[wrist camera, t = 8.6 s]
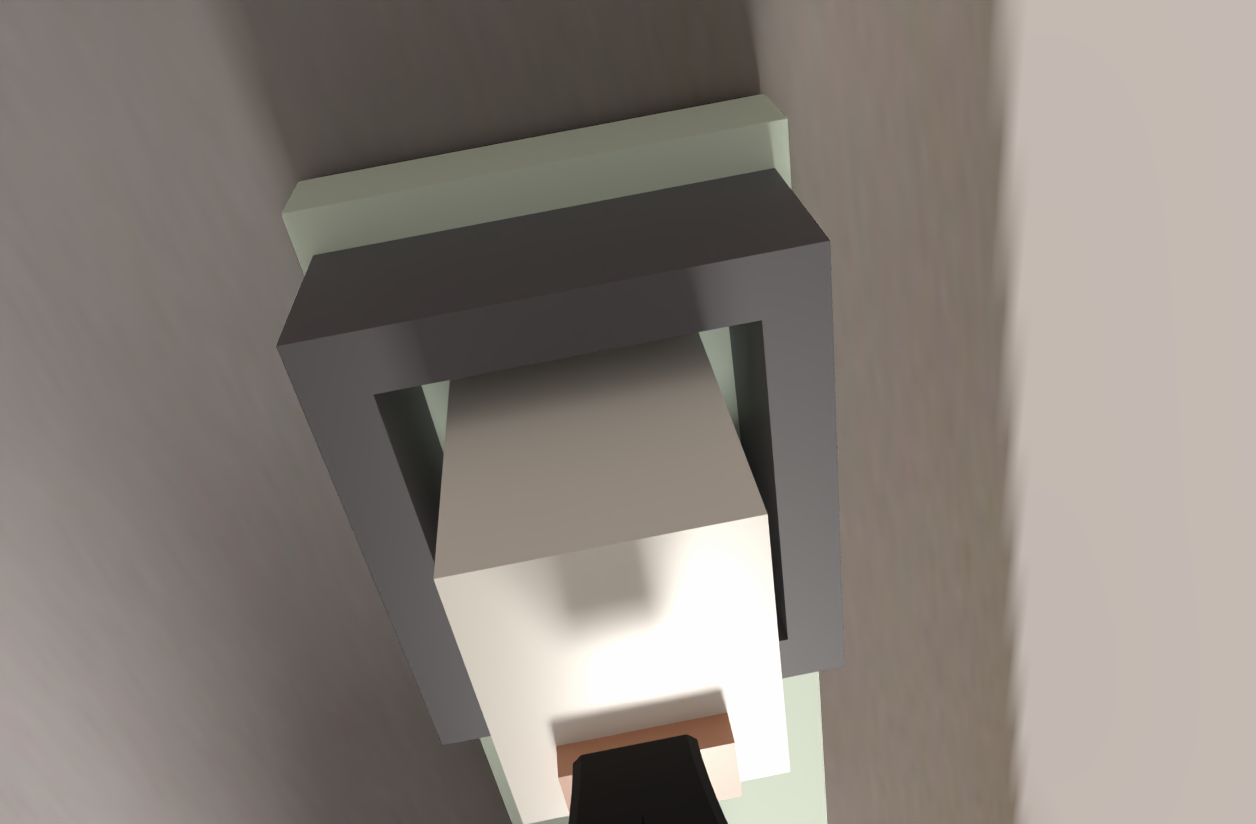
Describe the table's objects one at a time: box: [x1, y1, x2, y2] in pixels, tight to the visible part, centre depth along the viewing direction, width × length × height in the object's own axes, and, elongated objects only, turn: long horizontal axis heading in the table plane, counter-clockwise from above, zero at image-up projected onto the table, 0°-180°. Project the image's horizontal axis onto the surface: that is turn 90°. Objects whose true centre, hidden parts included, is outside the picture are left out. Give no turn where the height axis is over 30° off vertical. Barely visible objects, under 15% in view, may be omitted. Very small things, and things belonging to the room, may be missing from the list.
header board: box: [276, 94, 844, 824], centre depth 19 cm, size 20×8×4 cm, turn 9°
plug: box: [434, 332, 790, 824], centre depth 15 cm, size 5×4×6 cm
